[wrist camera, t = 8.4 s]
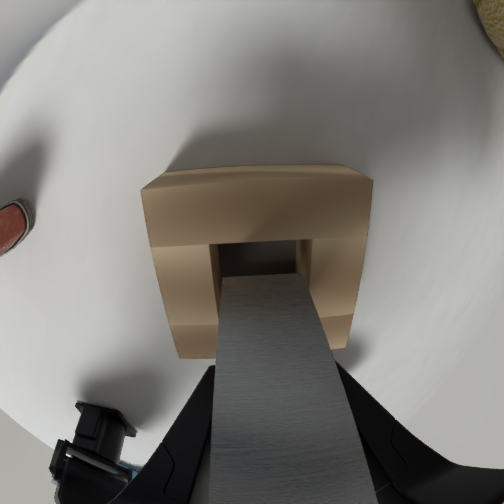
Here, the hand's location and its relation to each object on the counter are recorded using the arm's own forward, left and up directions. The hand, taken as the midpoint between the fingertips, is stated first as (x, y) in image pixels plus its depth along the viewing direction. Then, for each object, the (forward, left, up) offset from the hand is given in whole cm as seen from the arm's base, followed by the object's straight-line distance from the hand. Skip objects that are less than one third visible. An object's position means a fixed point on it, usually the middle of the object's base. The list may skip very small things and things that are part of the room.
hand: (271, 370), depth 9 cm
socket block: (0, 0, -9) cm, 9 cm away
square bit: (0, 0, -4) cm, 4 cm away
